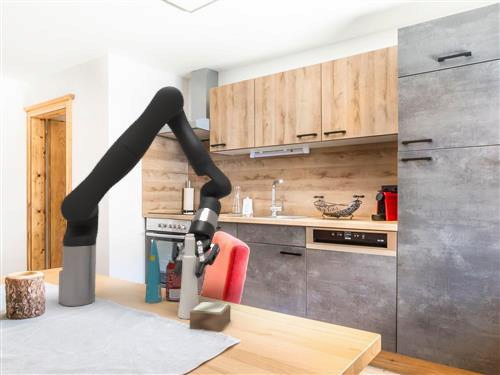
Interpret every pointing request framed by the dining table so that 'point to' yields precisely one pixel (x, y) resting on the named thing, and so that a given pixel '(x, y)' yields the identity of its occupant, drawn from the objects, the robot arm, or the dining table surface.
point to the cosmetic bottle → (188, 280)
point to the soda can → (172, 283)
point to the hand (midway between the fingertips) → (186, 275)
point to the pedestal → (210, 316)
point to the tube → (153, 277)
